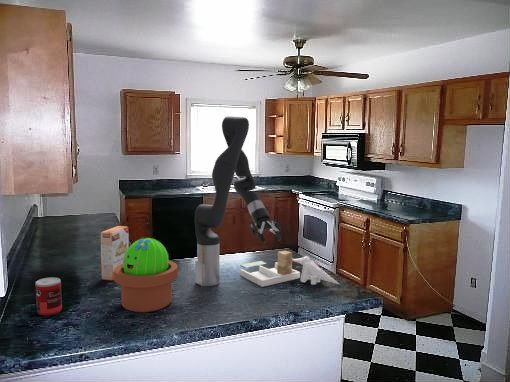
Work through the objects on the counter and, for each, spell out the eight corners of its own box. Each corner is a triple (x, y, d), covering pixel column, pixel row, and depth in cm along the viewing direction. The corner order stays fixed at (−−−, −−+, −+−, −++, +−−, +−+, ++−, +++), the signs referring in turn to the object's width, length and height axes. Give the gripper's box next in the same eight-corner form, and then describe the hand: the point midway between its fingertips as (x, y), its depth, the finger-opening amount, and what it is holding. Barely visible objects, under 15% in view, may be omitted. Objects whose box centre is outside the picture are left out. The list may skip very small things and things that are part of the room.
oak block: (283, 279, 176) (284, 254, 175) (277, 276, 180) (277, 251, 178) (291, 277, 179) (292, 252, 177) (285, 274, 182) (285, 250, 181)
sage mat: (254, 272, 188) (254, 271, 188) (240, 265, 198) (240, 264, 198) (275, 268, 195) (275, 267, 195) (261, 261, 204) (261, 260, 204)
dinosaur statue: (293, 274, 183) (296, 250, 181) (342, 292, 169) (346, 266, 167) (285, 278, 178) (287, 253, 176) (334, 297, 164) (338, 270, 162)
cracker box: (114, 281, 174) (112, 232, 172) (101, 280, 176) (99, 232, 173) (130, 270, 188) (129, 225, 185) (118, 269, 189) (116, 225, 187)
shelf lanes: (262, 289, 167) (262, 280, 167) (239, 277, 181) (240, 269, 181) (299, 280, 178) (300, 272, 178) (276, 269, 192) (276, 262, 192)
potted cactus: (147, 288, 167) (145, 227, 164) (189, 299, 156) (188, 234, 153) (102, 306, 148) (99, 238, 145) (147, 321, 137) (145, 247, 134)
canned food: (42, 307, 147) (40, 277, 146) (65, 306, 148) (64, 277, 147) (32, 316, 140) (31, 285, 138) (57, 315, 140) (55, 284, 139)
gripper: (248, 208, 187) (262, 238, 179) (273, 205, 195) (288, 234, 187) (242, 218, 192) (255, 247, 184) (267, 215, 200) (281, 243, 192)
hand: (272, 241), depth 185 cm, fingers open, 8 cm apart
